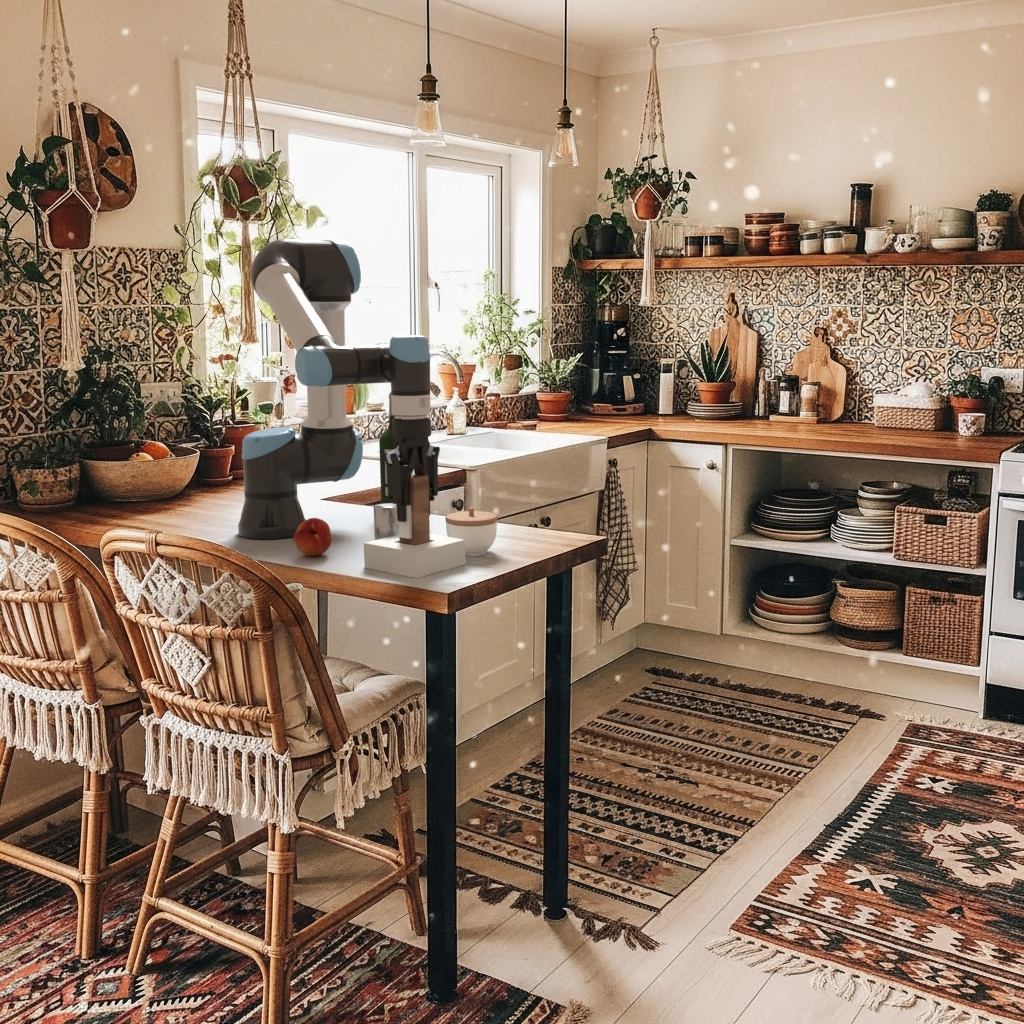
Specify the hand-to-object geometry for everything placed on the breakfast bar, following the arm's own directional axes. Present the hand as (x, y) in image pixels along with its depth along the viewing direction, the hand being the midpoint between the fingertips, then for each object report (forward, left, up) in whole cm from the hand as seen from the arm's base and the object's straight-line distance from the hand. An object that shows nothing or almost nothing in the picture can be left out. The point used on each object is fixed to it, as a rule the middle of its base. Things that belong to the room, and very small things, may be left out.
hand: (414, 535), depth 223 cm
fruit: (-23, -6, -6) cm, 25 cm away
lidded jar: (+1, +16, -6) cm, 17 cm away
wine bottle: (-38, +34, -6) cm, 51 cm away
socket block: (0, 0, -6) cm, 6 cm away
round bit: (-12, +5, -6) cm, 14 cm away
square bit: (0, 0, -2) cm, 2 cm away
